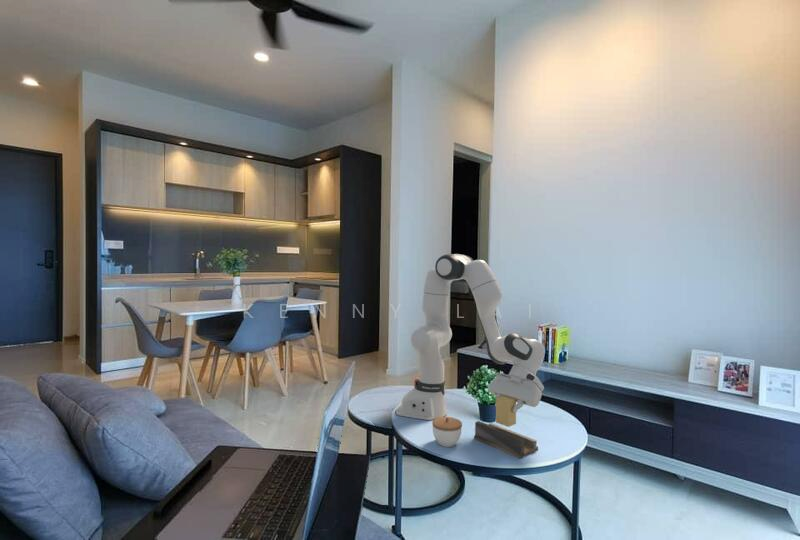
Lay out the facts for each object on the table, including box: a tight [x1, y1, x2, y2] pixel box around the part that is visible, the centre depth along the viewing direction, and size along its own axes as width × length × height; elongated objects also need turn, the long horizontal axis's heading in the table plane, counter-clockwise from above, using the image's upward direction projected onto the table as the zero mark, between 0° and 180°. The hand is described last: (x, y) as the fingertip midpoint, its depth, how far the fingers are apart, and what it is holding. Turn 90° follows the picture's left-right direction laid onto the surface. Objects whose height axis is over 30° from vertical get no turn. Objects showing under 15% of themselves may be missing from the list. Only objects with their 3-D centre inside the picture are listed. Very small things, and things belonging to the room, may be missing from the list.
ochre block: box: [495, 395, 517, 428], centre depth 148 cm, size 4×6×9 cm
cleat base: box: [473, 420, 539, 459], centre depth 148 cm, size 11×20×6 cm, turn 39°
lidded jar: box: [431, 416, 463, 448], centre depth 148 cm, size 11×11×9 cm
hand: (504, 409), depth 147 cm, fingers closed on ochre block, 5 cm apart
